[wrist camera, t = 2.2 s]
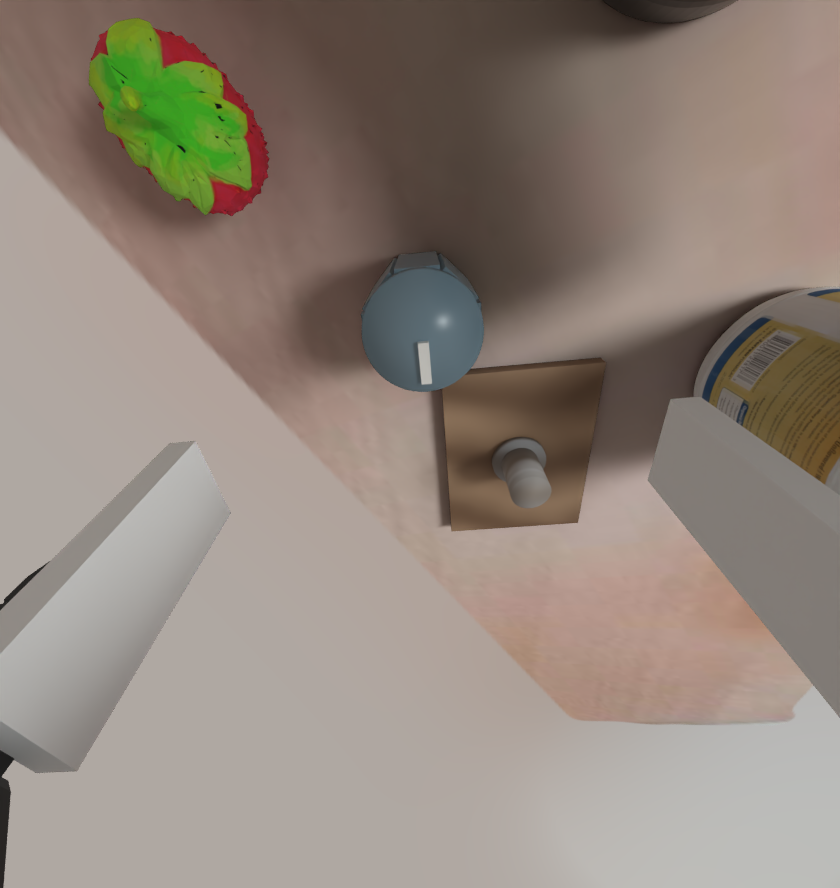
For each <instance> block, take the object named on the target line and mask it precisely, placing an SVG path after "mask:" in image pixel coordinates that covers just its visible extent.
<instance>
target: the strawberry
mask: <svg viewBox="0 0 840 888" xmlns="http://www.w3.org/2000/svg"><path fill="white" fill-rule="evenodd" d="M99 38H100V40H99V41H98V43H97V46H96V48H95V51H94V54H93V57H92V58H91V62H90V70H89V85H90V86H91V87H92V88H93V90H94V92H95V93H96V95H97V97H98V98H99V100H100V102H99V104H98V105H99V106H100V107H101V108H102V109H104V111H103V117H104V121H105V127H106V130H107V131H109V132H111V133H113V134H115V135H116V136H117V137H118V139H119V141H120V143H121V145H122V148H125V149H126V151H127V153H128V154H129V156H130V157H131V159H132V160H133V162H134V163H135V164H136V165H137V166H139V167H145V168H146V169H147V170H148V172H149V174H150V175H153V176H154V179H155V181H156V182H158V183H159V185H160V186H161V188H162V189H163V190H164V191H166V192H167V193H169V194H171V195H173V196H174V198H175V200H176V201H181V200H182V199H184V200H189V201H190V202H191V203H193V207H194V208H198V209H199V210H200V211H201V212H202V213H203V214H204V215H207V214H208V213H212V214H215V213H223V214H228V215H230V216H233V214H234V213H236V212H238V211H241V210H243V208H244V207H245V206H246V205H247V204H248V203H252V201H253V198H254V197H255V196H256V195H257V194H260V193H261V186H263V182H264V180H265V179H266V178H268V174H267V169H268V164H267V162H268V160H269V158H268V156H267V155H266V154H268V153H269V152H268V151H267V150H266V148H265V146H266V145H267V142H266V141H264V136H263V133H262V132H261V130H262V128H261V127H259V126H258V125H257V123H256V121H255V118H254V111H253V110H250V109H249V108H248V104H247V103H245V102H244V98H243V95H240V93H237V92H236V91H235V89H234V88H233V87H232V85H231V84H230V83H229V81H228V80H227V76H226V74H225V73H223V72H221V71H219V70H218V68H217V65H216V63H212V62H211V61H210V60H209V59H208V58H207V56H206V54H205V53H202V52H201V51H200V50H199V49H198V48H197V46H196V45H195V44H194V43H192V44H189V43H188V42H187V41H186V40H185V39H184V38H183V37H182V36H175V35H174V34H173V33H172V32H164V31H161V30H158V29H155V28H153V27H152V25H151V24H150V22H147V21H145V20H142V19H139V18H133V19H127V20H123V21H119V22H116V23H115V24H114V25H112V26H111V27H110V28H109V29H108V31H106V32H105V33H103V34H100V35H99Z"/></svg>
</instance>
